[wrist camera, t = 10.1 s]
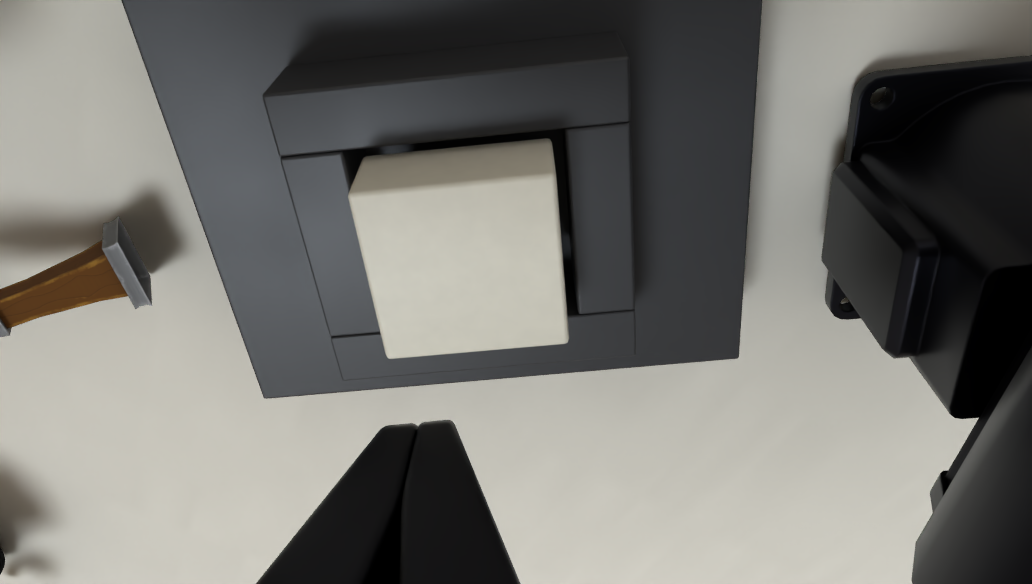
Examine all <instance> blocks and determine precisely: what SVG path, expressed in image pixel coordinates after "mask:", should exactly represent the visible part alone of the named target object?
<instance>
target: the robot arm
mask: <svg viewBox="0 0 1032 584" xmlns="http://www.w3.org/2000/svg"><path fill="white" fill-rule="evenodd" d="M882 87H886V93H885V96H884V98H882V99H881V100H880V101H879V102H877V103H874V104H871V103H870V98H871V96H872V94H873V93H874V92H875V91H876V90H877V89H879V88H882ZM822 261H823V263H824V264H825V266H826V267H827V269H828V270H829V272H828V279H827V287H826V294H825V301H826V304H827V306H828V307H829V309H830V310H831V312H832V313H833V315H834V316H835V317H837V318H839V319H858V318H862V320H863V321H864V323H865V324H866V326H867V327H868V329H869V330H870V332H871V333H872V335H873V336H874V337H875V339H876V340H877V342H878V343H879V345H880V346H881V348H882V349H883V350H884V351H885V352H887V353H888V354H889V355H890V356H892V357H893V358H906V357H909V358H910V359H911V361H912V362H913V363H914V365H915V366H916V367H917V369H918V370H919V372H920V373H921V374H922V376H923V377H924V379H925V380H926V381H927V383H928V384H929V385H930V387H931V388H932V390H933V391H934V392H935V394H936V395H937V396H938V398H939V399H940V401H941V402H942V403H943V405H944V406H945V408H946V409H947V410H948V412H949V413H950V414H951V415H952V416H953V417H954V418H960V419H966V418H979V419H978V421H977V422H976V424H975V426H974V428H973V429H972V431H971V433H970V434H969V436H968V438H967V440H966V441H965V443H964V445H963V446H962V448H961V450H960V452H959V453H958V455H957V457H956V459H955V460H954V462H953V464H952V465H951V467H950V469H949V471H943V472H941V473H940V475H939V477H938V479H937V480H936V482H935V484H934V486H933V487H932V489H931V491H930V497H931V503H932V510H933V514H932V516H931V518H930V519H929V521H928V523H927V524H926V526H925V528H924V529H923V531H922V533H921V534H920V536H919V538H918V540H917V541H916V545H915V554H914V563H913V572H912V583H913V584H1032V55H1030V56H1020V57H1010V58H1000V59H990V60H981V61H971V62H961V63H951V64H941V65H931V66H922V67H912V68H902V69H892V70H882V71H876V72H872V73H869V74H867V75H866V76H865V77H863V78H862V79H861V80H860V81H859V82H858V83H857V85H856V86H855V88H854V91H853V94H852V100H851V108H850V115H849V123H848V130H847V138H846V145H845V153H844V160H843V162H841V163H840V164H839V166H838V167H837V168H836V169H835V170H834V172H833V173H832V179H831V187H830V195H829V203H828V210H827V218H826V226H825V234H824V242H823V250H822ZM845 297H847V298H848V299H849V302H847V303H843V304H842V303H841V301H842V300H843V299H844V298H845ZM256 584H520V582H519V579H518V577H517V574H516V572H515V570H514V567H513V565H512V562H511V560H510V557H509V555H508V553H507V550H506V548H505V545H504V543H503V540H502V538H501V536H500V533H499V531H498V528H497V526H496V524H495V521H494V519H493V516H492V514H491V511H490V509H489V507H488V504H487V502H486V499H485V497H484V494H483V492H482V490H481V487H480V485H479V482H478V480H477V478H476V475H475V473H474V470H473V468H472V465H471V463H470V461H469V458H468V456H467V453H466V451H465V448H464V446H463V444H462V441H461V439H460V436H459V434H458V431H457V429H456V427H455V424H454V423H453V422H452V421H450V420H442V421H431V422H423V423H421V424H420V425H419V427H418V426H417V425H415V424H413V423H410V424H399V425H389V426H385V427H383V428H382V429H381V430H380V431H379V432H378V433H377V434H376V436H375V437H374V438H373V439H372V441H371V442H370V443H369V444H368V446H367V447H366V448H365V449H364V450H363V452H362V453H361V454H360V455H359V457H358V458H357V459H356V460H355V462H354V463H353V464H352V465H351V467H350V468H349V469H348V470H347V472H346V473H345V474H344V475H343V476H342V478H341V479H340V480H339V481H338V483H337V484H336V485H335V486H334V488H333V489H332V490H331V491H330V493H329V494H328V495H327V496H326V498H325V499H324V500H323V501H322V503H321V504H320V505H319V506H318V507H317V509H316V510H315V511H314V512H313V514H312V515H311V516H310V517H309V519H308V520H307V521H306V522H305V524H304V525H303V526H302V527H301V529H300V530H299V531H298V532H297V533H296V535H295V536H294V537H293V538H292V540H291V541H290V542H289V543H288V545H287V546H286V547H285V548H284V550H283V551H282V552H281V553H280V555H279V556H278V557H277V558H276V560H275V561H274V562H273V563H272V564H271V566H270V567H269V568H268V569H267V571H266V572H265V573H264V574H263V576H262V577H261V578H260V579H259V581H258V582H257V583H256Z"/></svg>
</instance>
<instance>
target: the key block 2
mask: <svg viewBox="0 0 1032 584" xmlns="http://www.w3.org/2000/svg"><path fill="white" fill-rule="evenodd" d="M122 3H123V6H124V9H125V11H126V14H127V17H128V20H129V22H130V25H131V28H132V31H133V34H134V36H135V39H136V42H137V45H138V48H139V50H140V53H141V56H142V59H143V62H144V64H145V67H146V70H147V73H148V76H149V78H150V81H151V84H152V87H153V89H154V92H155V95H156V98H157V101H158V103H159V106H160V109H161V112H162V115H163V117H164V120H165V123H166V126H167V129H168V131H169V134H170V137H171V140H172V143H173V145H174V148H175V151H176V154H177V156H178V159H179V162H180V165H181V168H182V170H183V173H184V176H185V179H186V182H187V184H188V187H189V190H190V193H191V196H192V198H193V201H194V204H195V207H196V210H197V212H198V215H199V218H200V221H201V223H202V226H203V229H204V232H205V235H206V237H207V240H208V243H209V246H210V249H211V251H212V254H213V257H214V260H215V263H216V265H217V268H218V271H219V274H220V276H221V279H222V282H223V285H224V288H225V290H226V293H227V296H228V299H229V302H230V304H231V307H232V310H233V313H234V316H235V318H236V321H237V324H238V327H239V330H240V332H241V335H242V338H243V341H244V343H245V346H246V349H247V352H248V355H249V357H250V360H251V363H252V366H253V369H254V371H255V374H256V377H257V380H258V383H259V385H260V388H261V391H262V394H263V397H264V398H266V399H267V398H278V397H290V396H302V395H314V394H325V393H337V392H349V391H361V390H372V389H384V388H396V387H408V386H419V385H431V384H443V383H455V382H466V381H478V380H490V379H502V378H514V377H525V376H537V375H549V374H561V373H572V372H584V371H596V370H608V369H619V368H631V367H643V366H655V365H666V364H678V363H690V362H702V361H713V360H725V359H737V358H738V357H739V345H740V330H741V314H742V299H743V284H744V269H745V254H746V239H747V223H748V208H749V193H750V178H751V163H752V148H753V133H754V117H755V102H756V87H757V72H758V57H759V42H760V27H761V11H762V0H122ZM544 138H547V139H550V140H551V142H552V147H553V155H554V162H555V170H556V179H557V191H558V204H559V217H560V229H561V242H562V254H563V267H564V279H565V292H566V304H567V317H568V330H569V340H568V343H565V344H557V345H545V346H534V347H522V348H511V349H499V350H487V351H476V352H464V353H453V354H441V355H430V356H418V357H407V358H395V359H389V358H387V356H386V354H385V349H384V345H383V341H382V337H381V333H380V328H379V324H378V320H377V316H376V312H375V308H374V303H373V299H372V295H371V291H370V287H369V283H368V278H367V274H366V270H365V266H364V262H363V257H362V253H361V249H360V245H359V241H358V237H357V232H356V228H355V224H354V220H353V216H352V212H351V207H350V203H349V199H348V194H349V191H350V189H351V186H352V184H353V181H354V179H355V177H356V174H357V172H358V169H359V167H360V164H361V162H362V159H363V158H364V157H366V156H373V155H383V154H393V153H403V152H413V151H423V150H434V149H444V148H454V147H464V146H474V145H484V144H494V143H504V142H514V141H524V140H534V139H544Z"/></svg>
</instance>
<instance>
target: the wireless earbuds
mask: <svg viewBox="0 0 1032 584" xmlns="http://www.w3.org/2000/svg"><path fill="white" fill-rule="evenodd" d="M4 565H5V556H4V553H3V551H2V549H1V548H0V574H1V572H2V570H3V568H4Z"/></svg>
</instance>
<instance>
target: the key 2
mask: <svg viewBox="0 0 1032 584" xmlns="http://www.w3.org/2000/svg"><path fill="white" fill-rule="evenodd" d="M348 199H349V203H350V207H351V212H352V216H353V220H354V224H355V228H356V232H357V237H358V241H359V245H360V249H361V253H362V257H363V262H364V266H365V270H366V274H367V278H368V283H369V287H370V291H371V295H372V299H373V303H374V308H375V312H376V316H377V320H378V324H379V328H380V333H381V337H382V341H383V345H384V349H385V354H386V356H387V358H389V359H395V358H407V357H418V356H430V355H441V354H453V353H464V352H476V351H487V350H499V349H511V348H522V347H534V346H545V345H557V344H565V343H568V340H569V330H568V317H567V304H566V292H565V279H564V267H563V254H562V242H561V229H560V217H559V204H558V191H557V179H556V170H555V162H554V155H553V147H552V142H551V140H550V139H547V138H544V139H534V140H524V141H514V142H504V143H494V144H484V145H474V146H464V147H454V148H444V149H434V150H423V151H413V152H403V153H393V154H383V155H373V156H366V157H364V158H363V159H362V162H361V164H360V167H359V169H358V172H357V174H356V177H355V179H354V181H353V184H352V186H351V189H350V191H349V194H348Z"/></svg>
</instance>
